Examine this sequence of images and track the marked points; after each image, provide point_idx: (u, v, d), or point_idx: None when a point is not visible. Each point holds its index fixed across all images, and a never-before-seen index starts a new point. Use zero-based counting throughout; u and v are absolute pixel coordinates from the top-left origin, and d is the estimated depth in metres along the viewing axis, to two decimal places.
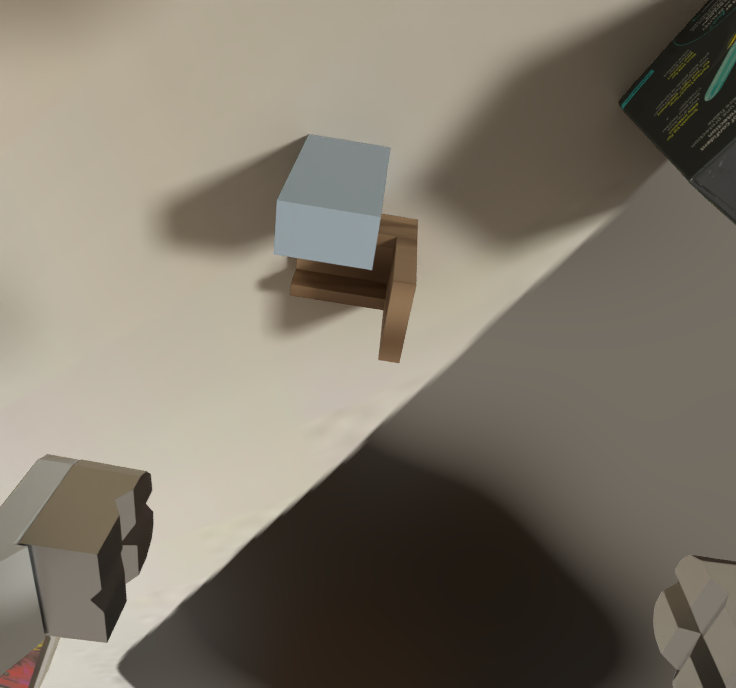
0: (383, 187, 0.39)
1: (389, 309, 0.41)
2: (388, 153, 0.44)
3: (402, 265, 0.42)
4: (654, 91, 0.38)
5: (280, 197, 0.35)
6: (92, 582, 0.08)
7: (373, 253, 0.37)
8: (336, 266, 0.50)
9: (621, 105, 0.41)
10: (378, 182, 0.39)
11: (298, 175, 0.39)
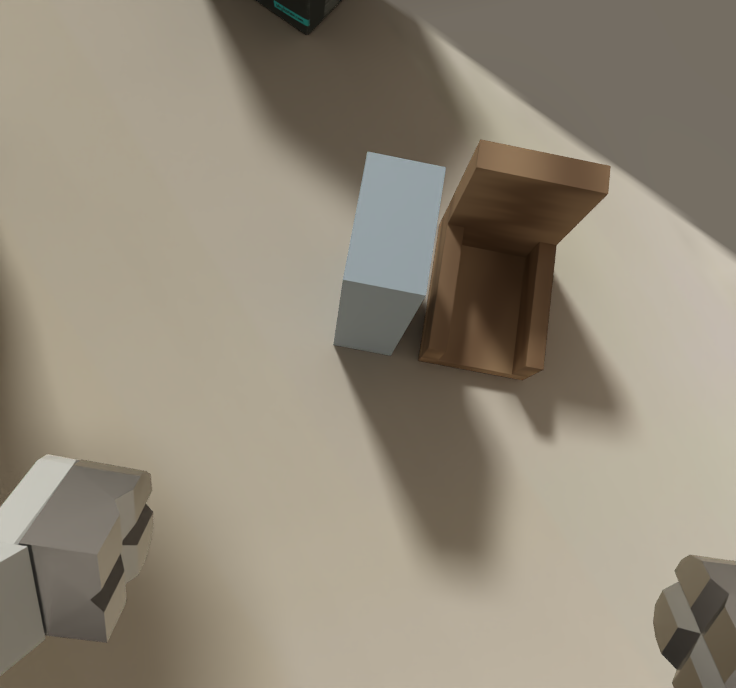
0: None
1: (520, 174, 0.30)
2: None
3: (466, 180, 0.32)
4: None
5: None
6: (93, 581, 0.08)
7: (420, 163, 0.27)
8: (505, 320, 0.37)
9: (307, 26, 0.41)
10: None
11: None
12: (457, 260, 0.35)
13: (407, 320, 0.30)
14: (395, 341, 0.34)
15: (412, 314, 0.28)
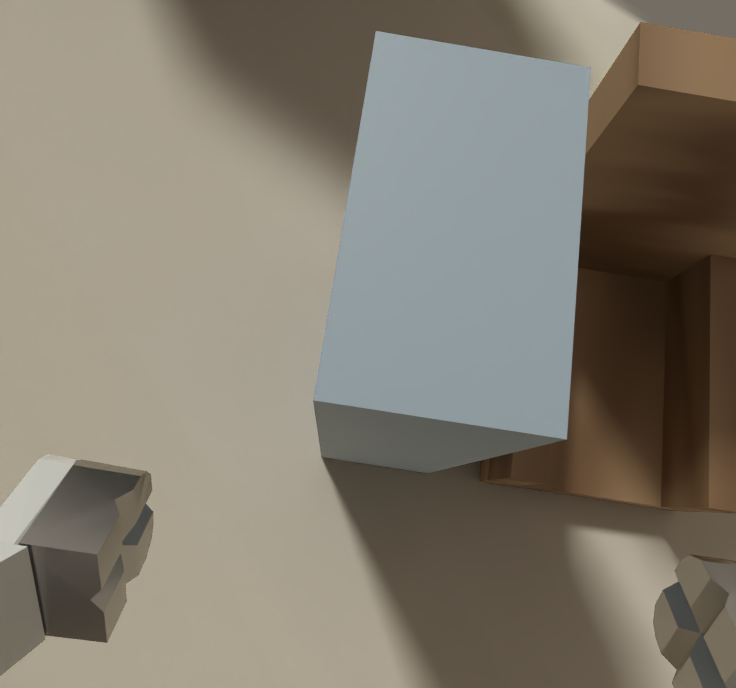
0: None
1: None
2: None
3: (590, 129, 0.15)
4: None
5: None
6: (92, 582, 0.08)
7: (521, 59, 0.10)
8: (640, 401, 0.20)
9: None
10: None
11: None
12: None
13: (482, 456, 0.12)
14: (442, 467, 0.17)
15: (501, 453, 0.11)
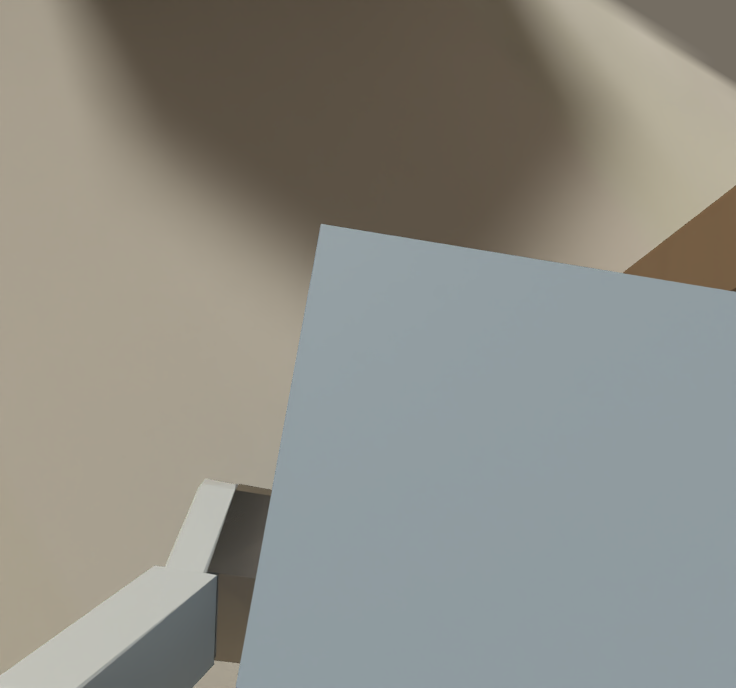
0: None
1: None
2: None
3: (686, 280, 0.09)
4: None
5: None
6: None
7: (632, 283, 0.05)
8: None
9: None
10: None
11: None
12: None
13: None
14: None
15: None
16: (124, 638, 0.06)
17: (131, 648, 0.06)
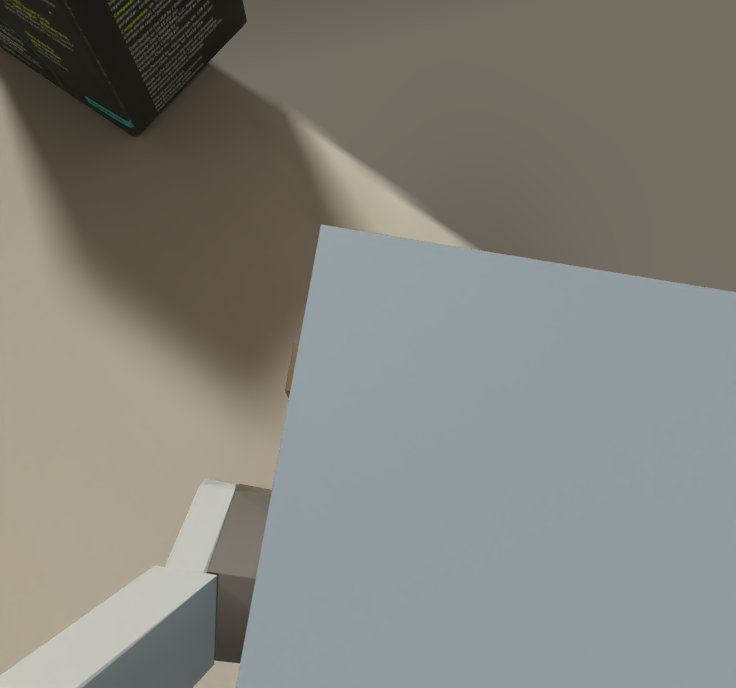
0: None
1: None
2: None
3: None
4: (78, 72, 0.28)
5: None
6: None
7: (634, 284, 0.05)
8: None
9: (130, 127, 0.31)
10: None
11: None
12: None
13: None
14: None
15: None
16: (124, 638, 0.06)
17: (132, 648, 0.06)
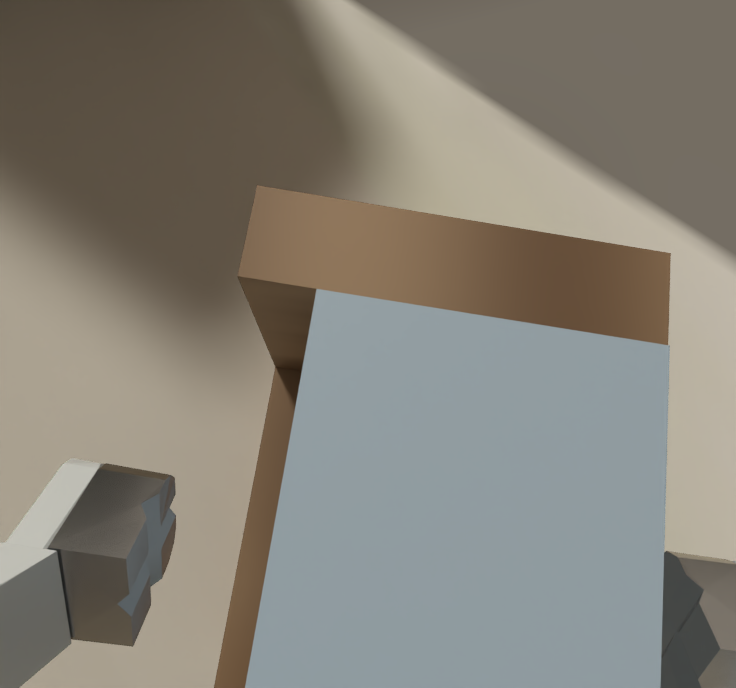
0: None
1: (383, 293, 0.09)
2: None
3: None
4: None
5: None
6: (120, 586, 0.08)
7: (555, 334, 0.06)
8: None
9: None
10: None
11: None
12: None
13: None
14: None
15: None
16: None
17: None
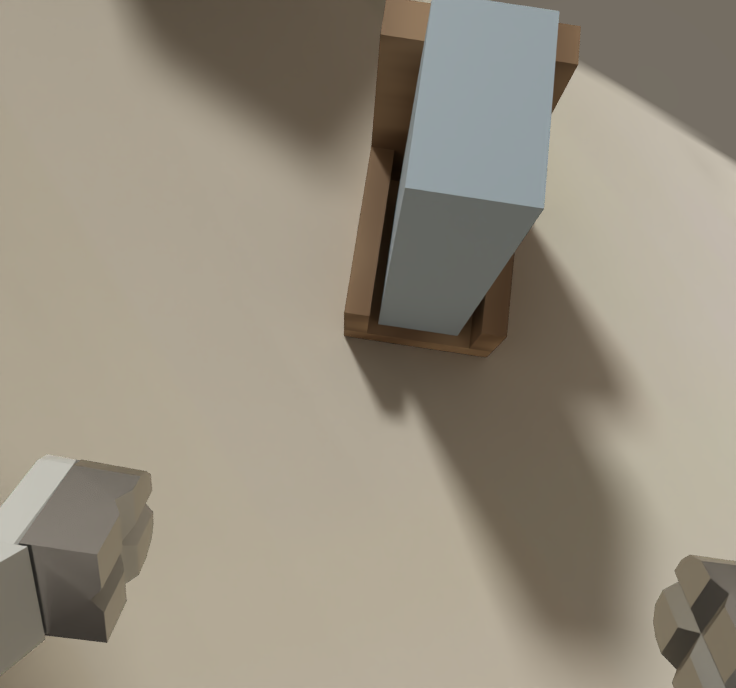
0: (414, 97, 0.21)
1: None
2: (398, 188, 0.27)
3: None
4: None
5: (403, 191, 0.16)
6: (92, 582, 0.08)
7: (518, 6, 0.17)
8: None
9: None
10: None
11: (394, 236, 0.20)
12: (384, 194, 0.26)
13: (497, 267, 0.19)
14: (469, 310, 0.24)
15: (509, 254, 0.18)
16: None
17: None
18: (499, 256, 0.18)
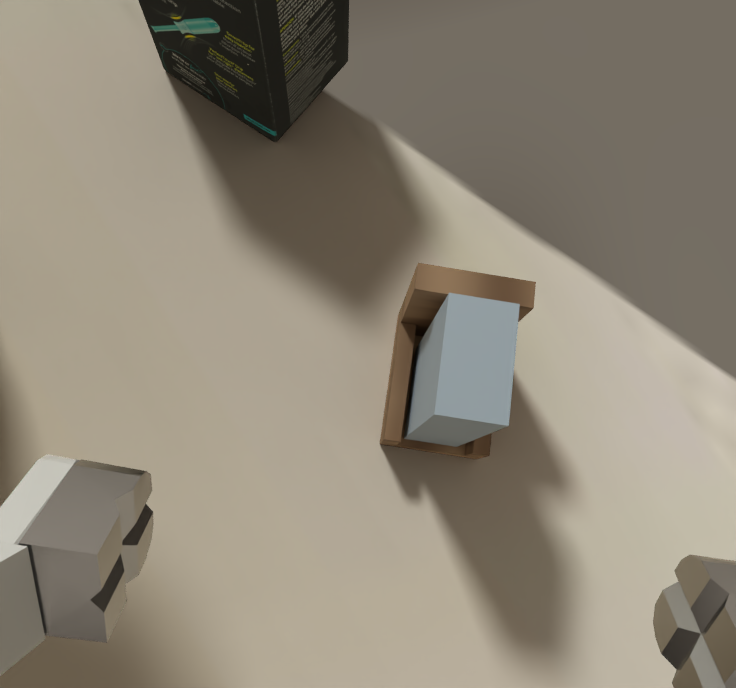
0: (433, 319, 0.34)
1: (454, 293, 0.33)
2: None
3: (410, 293, 0.36)
4: (248, 99, 0.42)
5: (433, 412, 0.29)
6: (92, 582, 0.08)
7: (496, 301, 0.30)
8: None
9: (274, 135, 0.45)
10: (431, 329, 0.35)
11: (422, 414, 0.33)
12: (410, 356, 0.39)
13: (483, 434, 0.33)
14: (465, 441, 0.37)
15: (490, 432, 0.31)
16: None
17: None
18: (484, 432, 0.32)
